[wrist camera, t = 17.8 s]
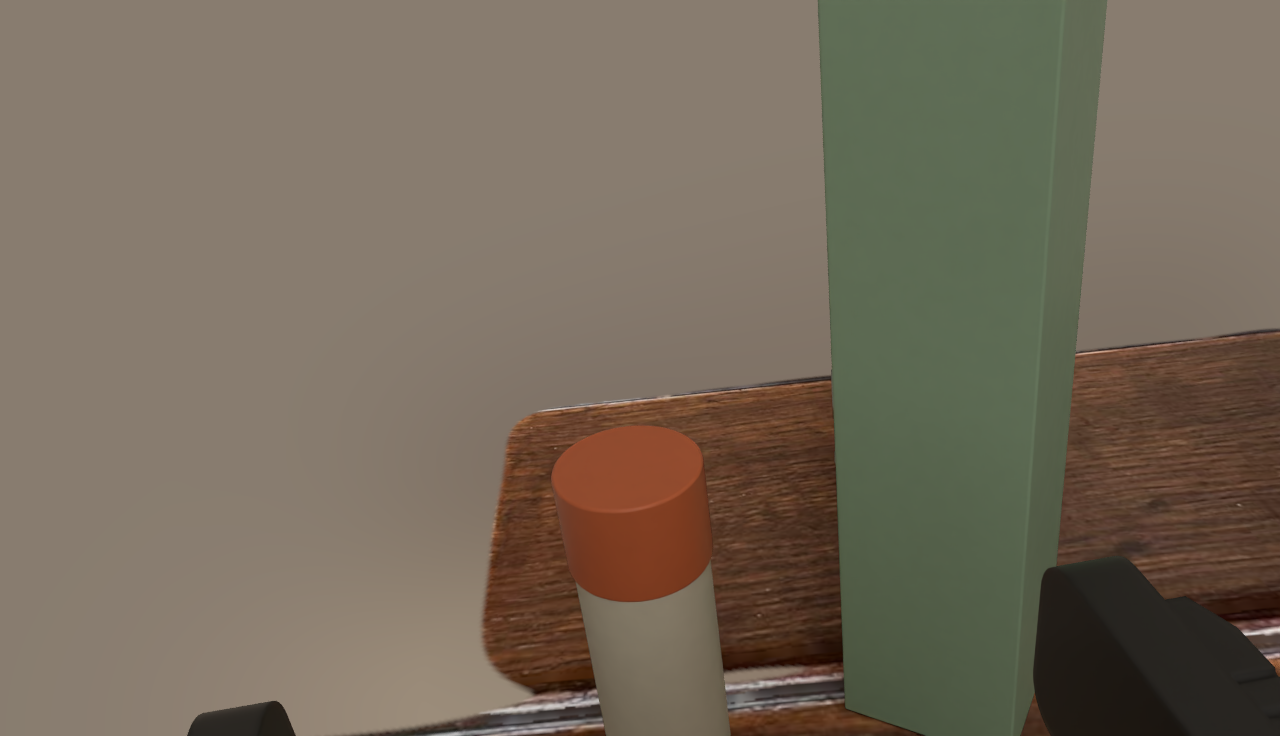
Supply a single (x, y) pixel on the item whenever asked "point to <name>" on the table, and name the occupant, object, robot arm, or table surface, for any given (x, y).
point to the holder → (952, 337)
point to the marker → (644, 579)
